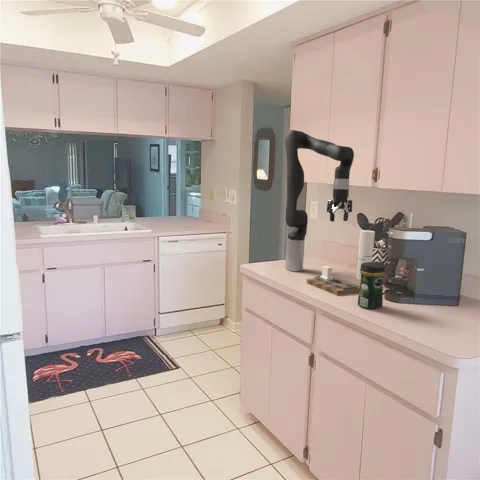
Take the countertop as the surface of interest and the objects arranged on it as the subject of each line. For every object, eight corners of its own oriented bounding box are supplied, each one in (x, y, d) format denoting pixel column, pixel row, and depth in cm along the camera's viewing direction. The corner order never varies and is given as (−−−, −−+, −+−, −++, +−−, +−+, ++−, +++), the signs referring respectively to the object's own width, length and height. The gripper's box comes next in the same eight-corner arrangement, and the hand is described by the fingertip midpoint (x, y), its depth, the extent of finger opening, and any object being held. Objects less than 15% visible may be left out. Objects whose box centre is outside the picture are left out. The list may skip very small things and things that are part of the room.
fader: (319, 278, 199) (320, 266, 198) (326, 277, 201) (326, 265, 200) (326, 281, 195) (327, 268, 194) (332, 280, 197) (333, 267, 196)
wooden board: (306, 283, 199) (306, 277, 199) (331, 279, 207) (332, 274, 206) (337, 295, 180) (337, 289, 180) (363, 291, 188) (364, 285, 187)
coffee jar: (370, 302, 172) (374, 259, 169) (385, 307, 165) (389, 263, 162) (353, 304, 168) (357, 260, 165) (368, 310, 161) (372, 265, 158)
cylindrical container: (371, 281, 206) (375, 232, 202) (356, 280, 208) (360, 231, 204) (369, 277, 213) (373, 230, 209) (355, 276, 215) (359, 229, 211)
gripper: (346, 188, 206) (344, 219, 208) (324, 187, 199) (322, 220, 201) (357, 188, 199) (354, 221, 202) (335, 188, 192) (332, 222, 195)
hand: (338, 221), depth 202 cm, fingers open, 8 cm apart
